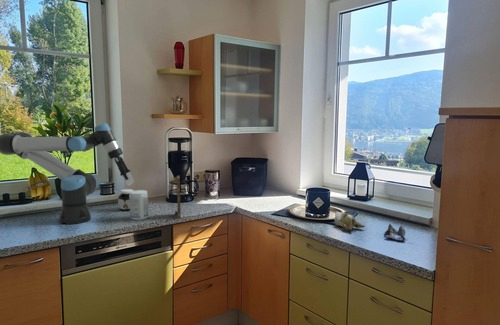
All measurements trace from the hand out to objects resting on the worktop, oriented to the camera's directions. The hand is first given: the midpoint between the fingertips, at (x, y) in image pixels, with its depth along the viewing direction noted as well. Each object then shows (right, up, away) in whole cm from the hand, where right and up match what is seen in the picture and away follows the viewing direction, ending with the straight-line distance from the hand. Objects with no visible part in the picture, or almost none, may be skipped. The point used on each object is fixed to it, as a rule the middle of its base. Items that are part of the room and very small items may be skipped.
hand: (131, 183), depth 209 cm
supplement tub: (+7, -18, -7) cm, 21 cm away
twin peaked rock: (+134, -23, -39) cm, 142 cm away
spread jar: (-4, -16, +13) cm, 21 cm away
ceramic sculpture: (+115, -21, -25) cm, 120 cm away
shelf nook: (+26, -18, -4) cm, 32 cm away
